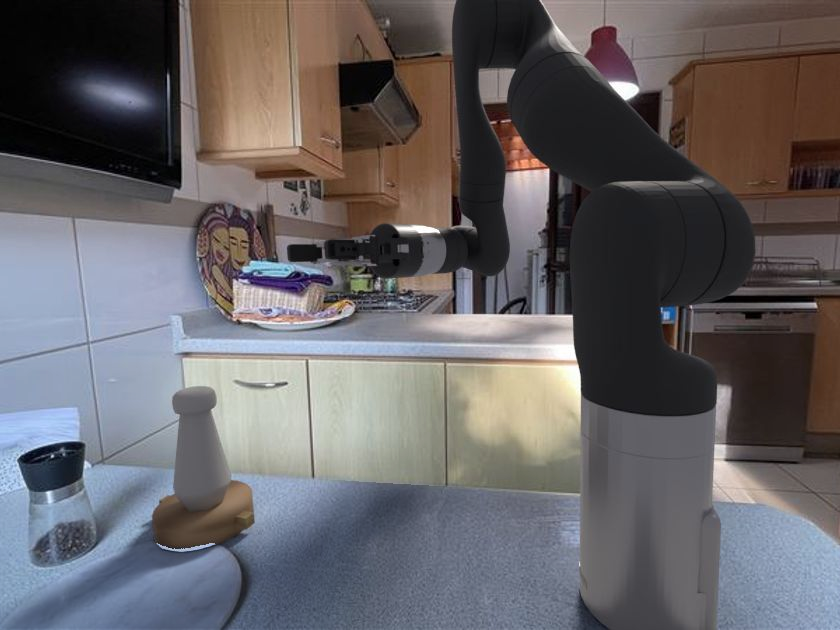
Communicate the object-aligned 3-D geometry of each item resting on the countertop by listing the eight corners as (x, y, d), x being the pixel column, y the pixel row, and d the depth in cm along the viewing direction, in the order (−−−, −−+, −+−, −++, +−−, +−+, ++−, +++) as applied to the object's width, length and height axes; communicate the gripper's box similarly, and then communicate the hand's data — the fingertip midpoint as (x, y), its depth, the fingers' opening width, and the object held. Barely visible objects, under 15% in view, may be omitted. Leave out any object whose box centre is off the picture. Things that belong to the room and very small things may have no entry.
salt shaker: (244, 495, 50) (234, 384, 48) (196, 522, 45) (184, 399, 43) (212, 484, 53) (202, 379, 51) (164, 508, 48) (151, 392, 46)
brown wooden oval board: (281, 508, 51) (279, 488, 51) (214, 563, 42) (212, 539, 42) (200, 492, 56) (198, 474, 55) (123, 539, 46) (120, 517, 46)
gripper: (374, 228, 67) (275, 224, 55) (443, 219, 57) (339, 212, 45) (377, 277, 68) (279, 283, 56) (445, 276, 58) (343, 283, 46)
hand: (306, 251), depth 51 cm, fingers open, 8 cm apart
